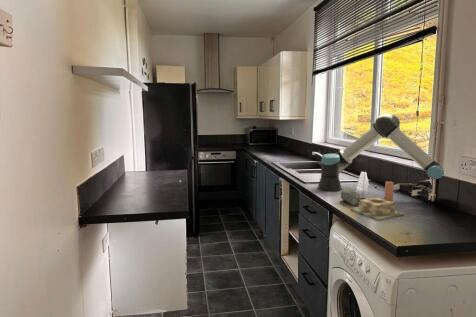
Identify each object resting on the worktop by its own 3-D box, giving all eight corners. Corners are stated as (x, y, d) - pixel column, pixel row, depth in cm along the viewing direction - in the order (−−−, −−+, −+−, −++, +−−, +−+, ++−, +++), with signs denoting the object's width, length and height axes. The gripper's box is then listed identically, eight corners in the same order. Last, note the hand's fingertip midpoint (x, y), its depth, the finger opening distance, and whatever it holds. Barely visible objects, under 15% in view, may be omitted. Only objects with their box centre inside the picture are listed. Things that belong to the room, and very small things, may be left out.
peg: (382, 206, 177) (383, 181, 175) (387, 205, 178) (389, 181, 176) (388, 208, 173) (390, 183, 171) (393, 207, 175) (395, 182, 173)
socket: (350, 210, 171) (351, 199, 170) (375, 205, 179) (376, 195, 178) (377, 220, 155) (378, 208, 154) (403, 215, 162) (404, 203, 161)
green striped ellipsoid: (334, 194, 192) (344, 180, 188) (348, 200, 194) (357, 187, 190) (341, 205, 179) (352, 191, 176) (355, 212, 181) (366, 198, 178)
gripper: (447, 198, 176) (421, 202, 167) (407, 188, 199) (382, 192, 190) (448, 184, 175) (422, 188, 166) (408, 176, 198) (383, 179, 189)
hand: (401, 190), depth 178 cm, fingers open, 13 cm apart
